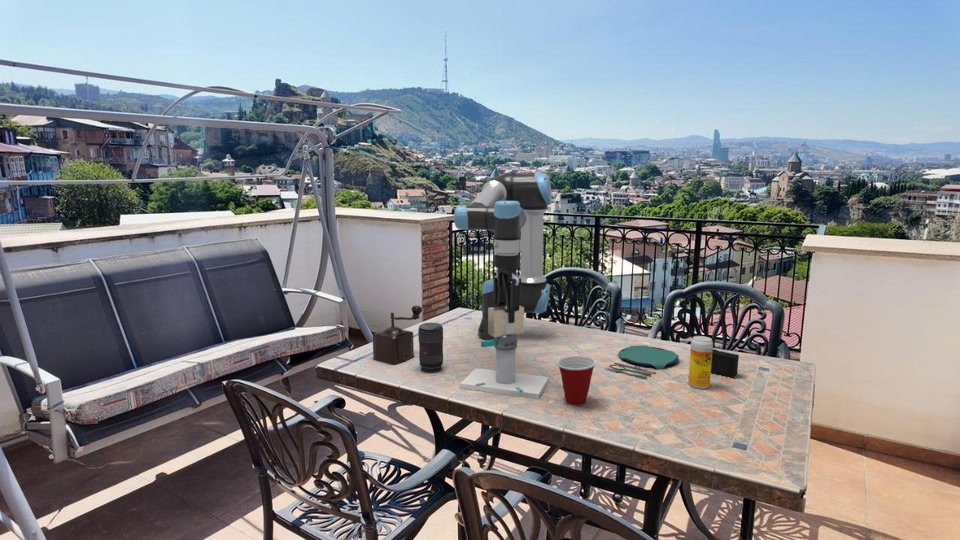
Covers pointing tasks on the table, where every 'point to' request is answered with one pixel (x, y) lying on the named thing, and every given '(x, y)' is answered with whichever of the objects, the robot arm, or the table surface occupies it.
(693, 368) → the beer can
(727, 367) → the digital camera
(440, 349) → the camera lens
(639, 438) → the table surface
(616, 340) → the table surface
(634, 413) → the table surface
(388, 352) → the manual coffee grinder
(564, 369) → the plastic cup
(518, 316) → the beige boxy piece
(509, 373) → the base
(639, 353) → the cutlery set
